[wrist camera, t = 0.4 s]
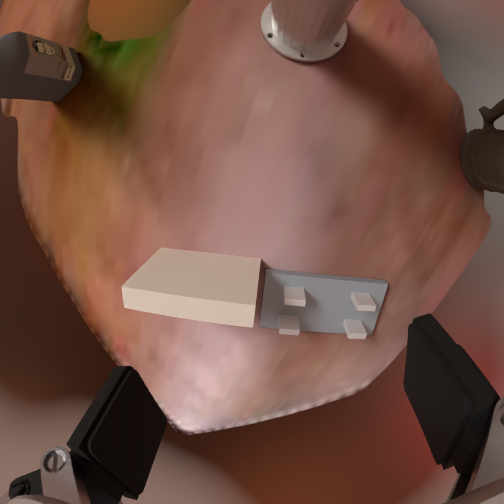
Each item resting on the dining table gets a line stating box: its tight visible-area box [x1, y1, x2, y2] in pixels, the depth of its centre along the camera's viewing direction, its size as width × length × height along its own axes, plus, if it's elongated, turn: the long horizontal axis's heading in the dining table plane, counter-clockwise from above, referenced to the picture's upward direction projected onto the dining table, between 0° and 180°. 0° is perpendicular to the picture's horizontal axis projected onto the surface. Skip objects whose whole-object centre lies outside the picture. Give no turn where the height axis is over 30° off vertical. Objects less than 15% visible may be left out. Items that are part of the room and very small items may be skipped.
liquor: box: [0, 31, 83, 102], centre depth 21 cm, size 9×9×30 cm
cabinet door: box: [122, 248, 261, 328], centre depth 38 cm, size 4×16×14 cm, turn 85°
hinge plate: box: [259, 269, 388, 339], centre depth 43 cm, size 10×20×6 cm, turn 85°
